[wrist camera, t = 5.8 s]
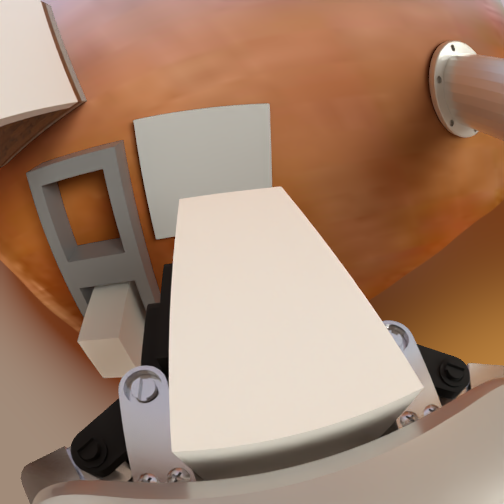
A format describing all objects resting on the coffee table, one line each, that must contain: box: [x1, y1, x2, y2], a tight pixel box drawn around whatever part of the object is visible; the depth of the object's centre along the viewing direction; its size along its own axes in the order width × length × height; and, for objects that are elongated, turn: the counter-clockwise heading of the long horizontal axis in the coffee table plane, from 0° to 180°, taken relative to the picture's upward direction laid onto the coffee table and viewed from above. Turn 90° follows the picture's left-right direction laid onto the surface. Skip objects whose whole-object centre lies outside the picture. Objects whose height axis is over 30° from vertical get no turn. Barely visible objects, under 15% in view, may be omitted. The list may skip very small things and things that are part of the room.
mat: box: [133, 103, 272, 239], centre depth 23 cm, size 11×11×1 cm
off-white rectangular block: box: [78, 280, 146, 378], centre depth 25 cm, size 4×6×9 cm
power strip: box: [26, 140, 161, 317], centre depth 24 cm, size 8×21×4 cm, turn 3°
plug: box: [169, 187, 424, 481], centre depth 9 cm, size 4×6×9 cm
